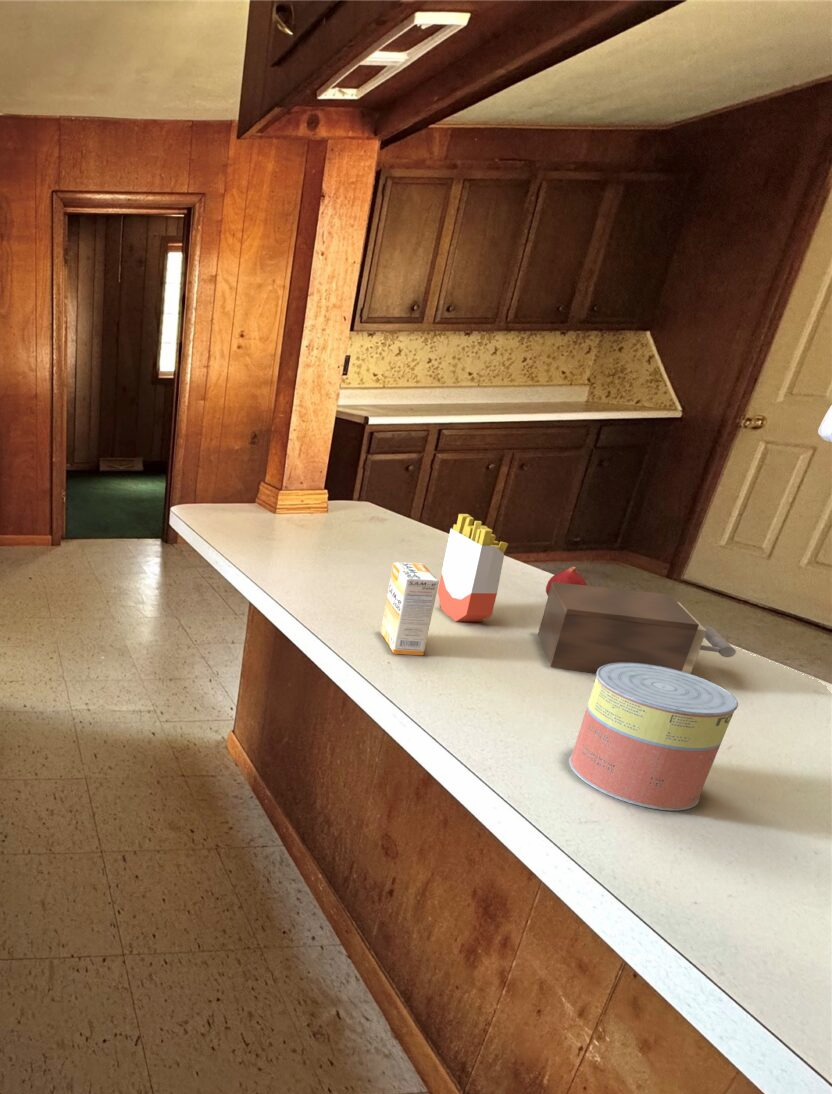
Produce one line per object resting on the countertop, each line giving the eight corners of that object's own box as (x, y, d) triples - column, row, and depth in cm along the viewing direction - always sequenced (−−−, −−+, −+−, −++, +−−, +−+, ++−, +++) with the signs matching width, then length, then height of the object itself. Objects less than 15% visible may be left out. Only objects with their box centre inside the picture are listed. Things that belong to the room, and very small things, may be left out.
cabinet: (650, 650, 104) (669, 594, 101) (676, 686, 94) (699, 624, 91) (537, 635, 111) (551, 581, 107) (550, 666, 101) (567, 608, 97)
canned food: (724, 818, 69) (767, 719, 65) (597, 802, 72) (629, 706, 68) (661, 756, 79) (695, 667, 75) (552, 744, 82) (578, 658, 78)
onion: (534, 605, 123) (545, 564, 120) (553, 599, 125) (564, 559, 122) (569, 615, 118) (581, 573, 115) (588, 609, 120) (600, 568, 117)
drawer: (699, 653, 101) (717, 606, 98) (729, 686, 92) (749, 635, 89) (556, 634, 109) (568, 590, 106) (570, 662, 100) (584, 615, 97)
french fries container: (460, 604, 124) (481, 511, 118) (491, 627, 114) (515, 527, 108) (434, 604, 125) (453, 511, 118) (462, 627, 115) (485, 527, 108)
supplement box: (378, 633, 114) (391, 561, 109) (409, 635, 113) (423, 562, 108) (391, 654, 106) (405, 578, 101) (424, 656, 105) (440, 579, 100)
